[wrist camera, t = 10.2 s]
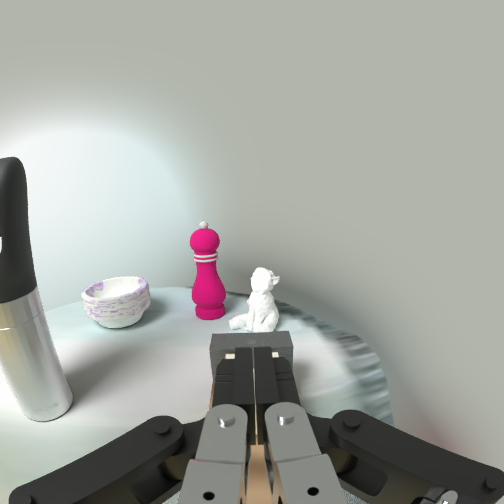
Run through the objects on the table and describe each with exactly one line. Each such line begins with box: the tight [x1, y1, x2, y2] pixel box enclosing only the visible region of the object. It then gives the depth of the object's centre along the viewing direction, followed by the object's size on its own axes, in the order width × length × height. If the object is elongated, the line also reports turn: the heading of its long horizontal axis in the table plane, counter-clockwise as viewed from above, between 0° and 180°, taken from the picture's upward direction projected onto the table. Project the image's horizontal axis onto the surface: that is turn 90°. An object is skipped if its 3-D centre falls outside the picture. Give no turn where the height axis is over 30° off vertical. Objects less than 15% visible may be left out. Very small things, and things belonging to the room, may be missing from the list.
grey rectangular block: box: [209, 331, 293, 384], centre depth 37 cm, size 4×10×7 cm, turn 91°
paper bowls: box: [81, 276, 151, 328], centre depth 58 cm, size 15×15×8 cm
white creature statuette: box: [229, 268, 280, 333], centre depth 55 cm, size 10×9×12 cm
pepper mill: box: [190, 221, 226, 320], centre depth 60 cm, size 7×7×20 cm
